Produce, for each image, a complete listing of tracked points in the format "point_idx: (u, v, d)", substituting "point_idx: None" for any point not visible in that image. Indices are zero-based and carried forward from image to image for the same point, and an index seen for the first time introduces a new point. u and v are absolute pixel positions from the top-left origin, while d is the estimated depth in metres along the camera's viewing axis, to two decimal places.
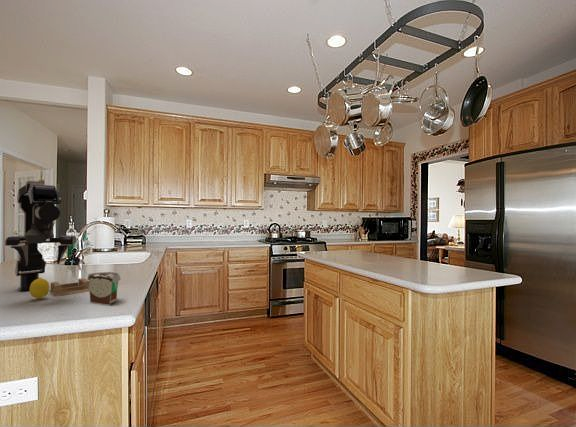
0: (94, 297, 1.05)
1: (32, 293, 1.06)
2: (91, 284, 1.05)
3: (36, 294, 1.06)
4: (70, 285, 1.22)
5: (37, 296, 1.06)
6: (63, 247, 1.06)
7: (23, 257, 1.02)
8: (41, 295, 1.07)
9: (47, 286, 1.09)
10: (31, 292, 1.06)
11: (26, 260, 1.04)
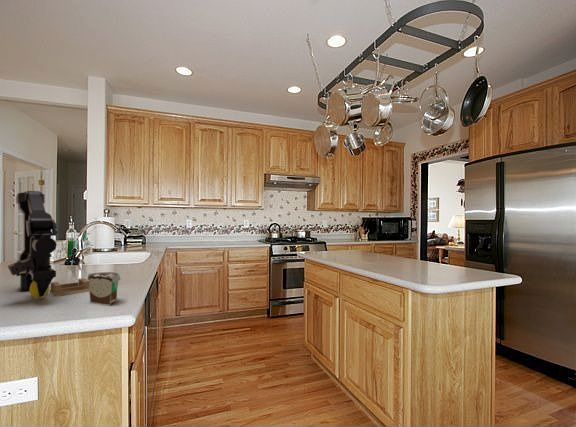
0: (94, 297, 1.05)
1: (32, 293, 1.06)
2: (91, 284, 1.05)
3: (36, 294, 1.06)
4: (70, 285, 1.22)
5: (37, 296, 1.06)
6: (33, 280, 1.03)
7: None
8: None
9: None
10: (31, 292, 1.06)
11: None
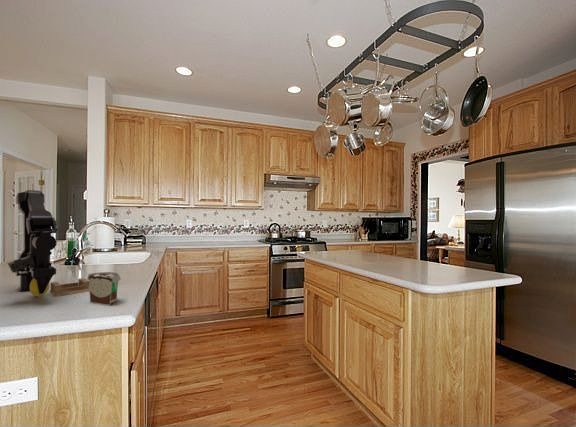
0: (94, 297, 1.05)
1: (32, 291, 1.06)
2: (91, 284, 1.05)
3: (36, 292, 1.06)
4: (70, 285, 1.22)
5: (37, 294, 1.06)
6: (33, 277, 1.03)
7: None
8: None
9: None
10: (31, 290, 1.06)
11: None
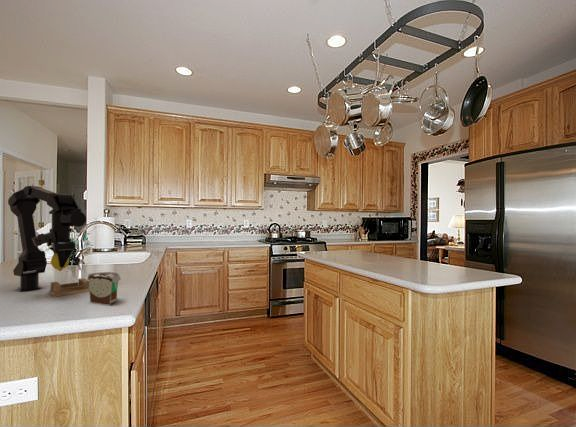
0: (94, 297, 1.05)
1: (53, 264, 1.13)
2: (91, 284, 1.05)
3: (57, 265, 1.13)
4: (70, 285, 1.22)
5: (58, 267, 1.14)
6: (55, 251, 1.10)
7: None
8: None
9: None
10: (53, 263, 1.13)
11: None
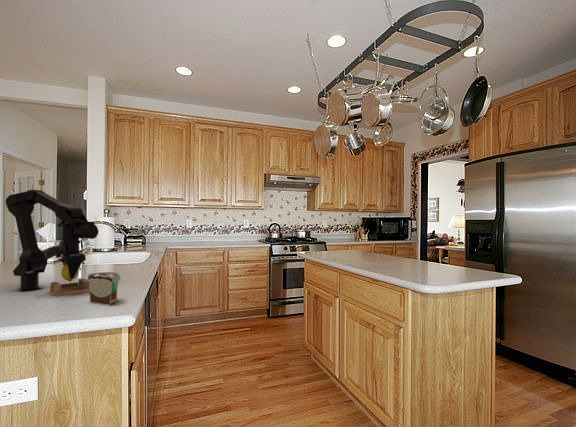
0: (94, 297, 1.05)
1: (64, 275, 1.17)
2: (91, 284, 1.05)
3: (67, 276, 1.17)
4: (70, 285, 1.22)
5: (68, 278, 1.18)
6: (65, 263, 1.14)
7: None
8: None
9: None
10: (63, 274, 1.17)
11: None
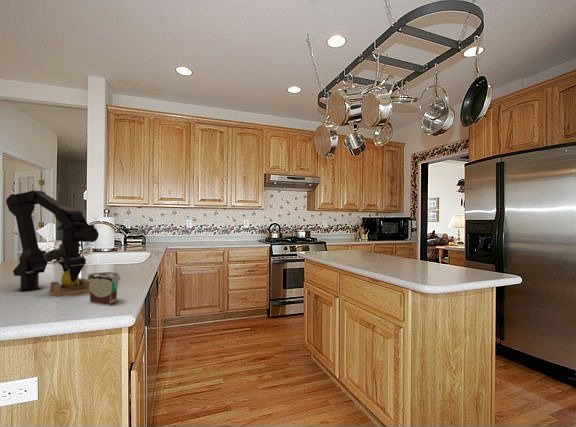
0: (94, 297, 1.05)
1: (64, 283, 1.17)
2: (91, 284, 1.05)
3: (67, 283, 1.17)
4: None
5: (68, 285, 1.18)
6: (67, 267, 1.13)
7: (63, 271, 1.22)
8: (72, 284, 1.18)
9: None
10: (63, 282, 1.17)
11: None
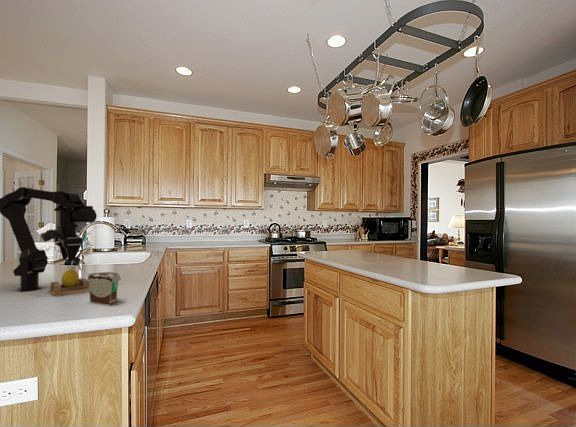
0: (94, 297, 1.05)
1: (64, 283, 1.17)
2: (91, 284, 1.05)
3: (68, 284, 1.17)
4: None
5: (68, 286, 1.18)
6: (64, 247, 1.15)
7: (61, 252, 1.24)
8: (72, 285, 1.18)
9: (77, 277, 1.20)
10: (63, 282, 1.17)
11: (64, 255, 1.25)
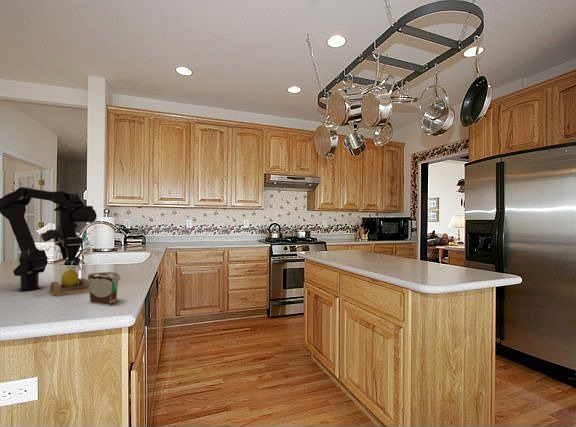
0: (94, 297, 1.05)
1: (64, 283, 1.17)
2: (91, 284, 1.05)
3: (67, 284, 1.17)
4: None
5: (68, 286, 1.18)
6: (64, 247, 1.15)
7: (61, 252, 1.24)
8: (72, 285, 1.18)
9: (76, 277, 1.20)
10: (63, 282, 1.17)
11: (64, 255, 1.25)
